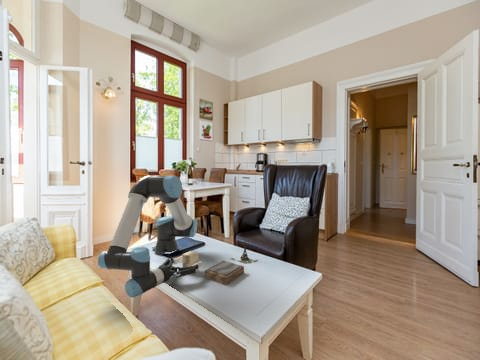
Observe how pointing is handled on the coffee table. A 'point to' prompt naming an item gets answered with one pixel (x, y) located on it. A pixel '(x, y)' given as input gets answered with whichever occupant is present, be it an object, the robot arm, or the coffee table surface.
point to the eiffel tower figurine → (244, 257)
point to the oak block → (190, 259)
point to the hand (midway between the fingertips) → (191, 260)
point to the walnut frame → (224, 272)
